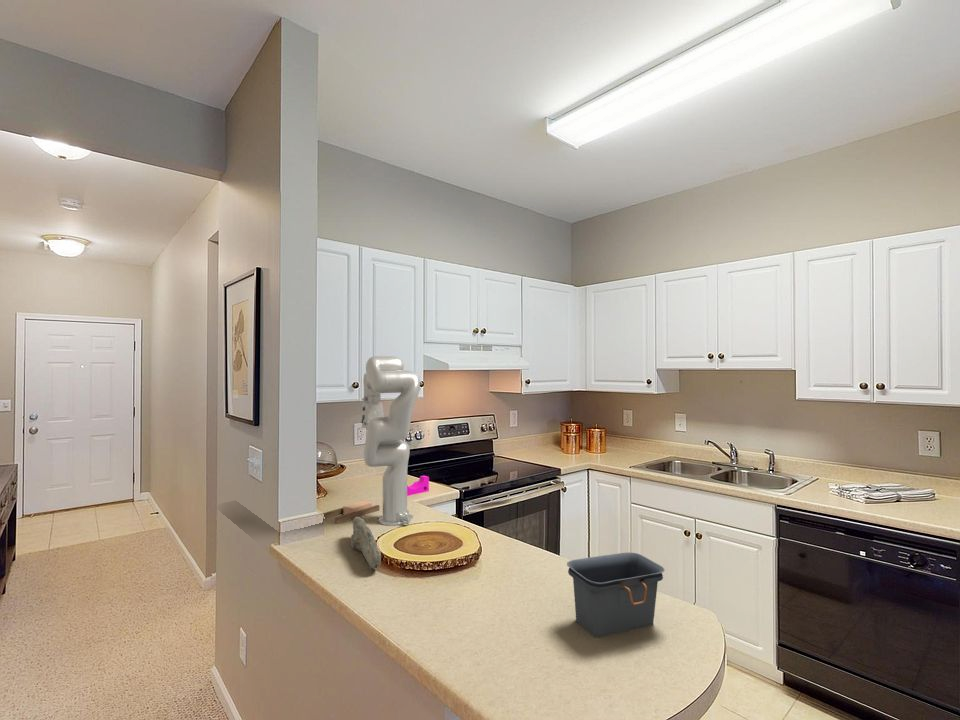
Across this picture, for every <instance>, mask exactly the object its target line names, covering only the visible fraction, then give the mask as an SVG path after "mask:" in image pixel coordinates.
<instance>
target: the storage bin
mask: <svg viewBox="0 0 960 720" xmlns="http://www.w3.org/2000/svg"><path fill="white" fill-rule="evenodd" d="M566 566H567V567H568V569H567V571H568V575H569V576H570V577H572V579H573V580H572V581H573V593H574V608H575V621H576V622H577V624H579V625H580V626H581V627H582V628H583V629H584V630H585V631H586V632H588V633H589V634H590V635H591V636H592V637H593V638H597V639H599V638H604V637H607V636H612V635H615V634H618V633H623V632H628V631H631V630H635V629H640V628H643V627H648V626H652V625H654V619H655V611H656V602H657V601H656V600H657V593H658V583H659V582H660V581H662V580H664V575H663V573H664V572H665V568H664V566H662V565H661V564H659V563H657V562H655V561H653V560H652V559H649V558H648V557H646V556H644V555H643V554H640V553H636V552H620V553H612V554H611V553H610V554H605V555H599V556H592V557H591V556H590V557H583V558H578V559H571V560H569V561H567V563H566Z"/></svg>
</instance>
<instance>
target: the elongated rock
mask: <svg viewBox="0 0 960 720" xmlns="http://www.w3.org/2000/svg"><path fill="white" fill-rule="evenodd" d="M352 523H353V524H352V531H353V532H352V534H351V535H350V541H351V544H350V547H351V549H352V550H358V551H359V552H361V553H362V555H363V556H364V558H365V560H366V562H367V564H368V566H369V569H374V570H378V569H379V567H380V566H381V560H382V559H381V558H382V556H381V555H382V552H381V549H380V547H378V544H377V542H376V539H375V537H374V534H373V532H372V530H371V528H370V527H368V526H367V523H366V522H365V518H361V516H360V517H355V518H354V519H352Z"/></svg>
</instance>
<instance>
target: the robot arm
mask: <svg viewBox="0 0 960 720" xmlns="http://www.w3.org/2000/svg"><path fill="white" fill-rule="evenodd" d="M404 365H405V364H404V362H403V360H402V359H401V358H400V357H398V356H393V355H391V356H390V355H389V356H388V355H387V356H386V355H385V356H383V355H379V356H378V355H376V356H374V355H373V356H371V357H369V358H368V359H367V361H366V364H365V373H364V375H363V381H362V382H363V397H362V398H361V399H362V401H363V403H362V405H361V415H360V423H361V428H364V429H366V434H365V442H364V450H363V451H364V452H363V461H364V463H365V465H366V466H367V467H369V468H377V467H386V466H387V467H386V469H385V471H384V472H383V475H382V515H381V516H380V517H379V518H378V523H379V524H380V525H383V526H387V527H388V526H390V527H397V526H402V525H407V524H409V523H410V522H412V519H413V518H414V514H411V513H410V510H409V509H408V496H407V486H408V465H409V458H410V452H411V451H410V446H409V444H408V442H406V441H405V440H406V439H407V438H408V436H409V433H410V428H411V421H412V414H413V409H414V406H415V404H416V401H417V399H418V397H419V394H420V387H421V381H420V376H419V375H418V374H417V373H416V372H414V371H411V370H404V368H405V367H404ZM396 393H397V394H398V393H399V395H398V396H397V397H395V398H394V400H393V401H392V402H391V404H390V405H389V410H388V411H389V412H388V415H387V416H384V415H385V414H384V413H385V412H384V405H383V402H382V401H381V394H396Z"/></svg>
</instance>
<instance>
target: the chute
mask: <svg viewBox="0 0 960 720" xmlns="http://www.w3.org/2000/svg"><path fill="white" fill-rule="evenodd" d="M379 511H380V504H376V505H373V506H372V507H369V508H366V509H362V510H359V511H356V512H352V513H349V514H346V515H343V507H341V508H340V507H339V508H337V509H333V510H330V511H326V512H323V514H324V517H325V519H324V520H327V519H330V518H333V517H335V518H334V523H335V525H337V524H341V523H344V522H346V521H347V520H348V521H350V519H351V520H353V519H354V518H355V517H360V518H361V517H363V516H366V514H367V515H369V514H372V513H373V514H374V513H376V512H379ZM340 514H341V515H340Z"/></svg>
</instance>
